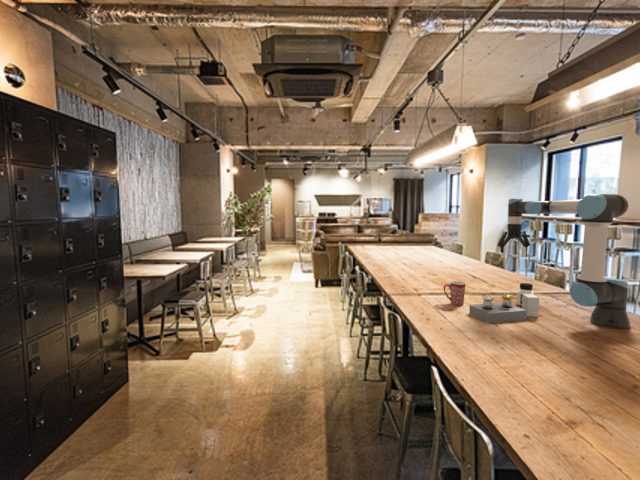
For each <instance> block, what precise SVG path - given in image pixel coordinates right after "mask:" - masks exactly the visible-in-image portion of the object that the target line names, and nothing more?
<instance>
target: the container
mask: <svg viewBox="0 0 640 480" xmlns="http://www.w3.org/2000/svg"><path fill="white" fill-rule="evenodd" d="M533 286H534V285H533V284H532V283H530V282H521V283H520V284H519V290H518V292H517V302H516V303H517V305H518V306H522V294H533V295H535V292H534V291H533Z"/></svg>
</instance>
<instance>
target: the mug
mask: <svg viewBox="0 0 640 480" xmlns="http://www.w3.org/2000/svg"><path fill="white" fill-rule="evenodd" d="M449 283H450V284H448V283H447V284H444V286H443V292H444V294H445V296H446V297H447V298H448V300H449V301H450V304H451V305H452V306H456V307H457V306H458V307H460V306H464V303H465V293H466V284H467V283H466V282H464V281H458V280H455V281H454V280H453V281H449ZM446 287H448V288H449V290H450V296H449V295H448V294H447V291H446Z"/></svg>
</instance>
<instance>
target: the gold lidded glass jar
mask: <svg viewBox="0 0 640 480" xmlns="http://www.w3.org/2000/svg"><path fill="white" fill-rule="evenodd" d="M513 298H514V296H513V295H512V294H506V293H505V294H501V299H502V302H503V307H504V308H511V305H512V300H513Z"/></svg>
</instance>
